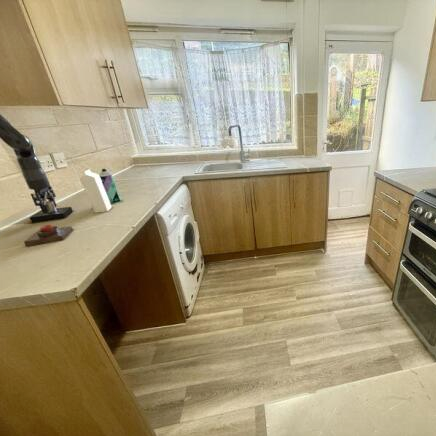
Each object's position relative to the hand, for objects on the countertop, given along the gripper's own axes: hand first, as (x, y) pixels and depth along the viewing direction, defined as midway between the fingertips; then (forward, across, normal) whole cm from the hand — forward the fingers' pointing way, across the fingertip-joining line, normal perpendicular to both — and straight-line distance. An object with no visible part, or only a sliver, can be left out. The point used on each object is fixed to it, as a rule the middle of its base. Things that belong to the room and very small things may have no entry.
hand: (50, 209), depth 123 cm
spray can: (+4, -12, +25) cm, 28 cm away
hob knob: (+1, 0, 0) cm, 1 cm away
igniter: (+4, +29, +10) cm, 31 cm away
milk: (+4, +1, +22) cm, 22 cm away
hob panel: (+4, 0, 0) cm, 4 cm away
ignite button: (0, +29, +10) cm, 31 cm away
